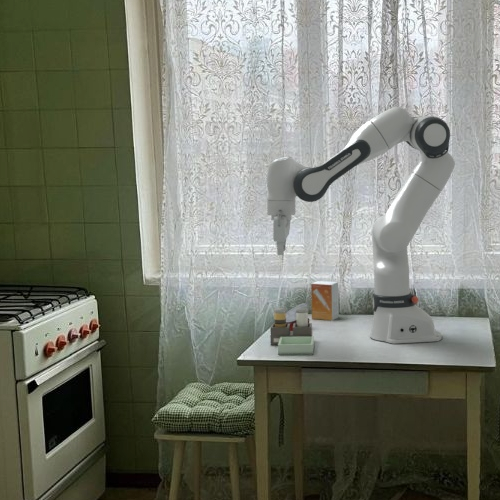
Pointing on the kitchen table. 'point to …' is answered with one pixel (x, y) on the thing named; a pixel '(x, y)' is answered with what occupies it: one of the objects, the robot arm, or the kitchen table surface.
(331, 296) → the small box
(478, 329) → the kitchen table surface
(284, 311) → the fuse
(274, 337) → the fuse block
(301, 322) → the cylinder
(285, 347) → the parts tray
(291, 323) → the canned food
